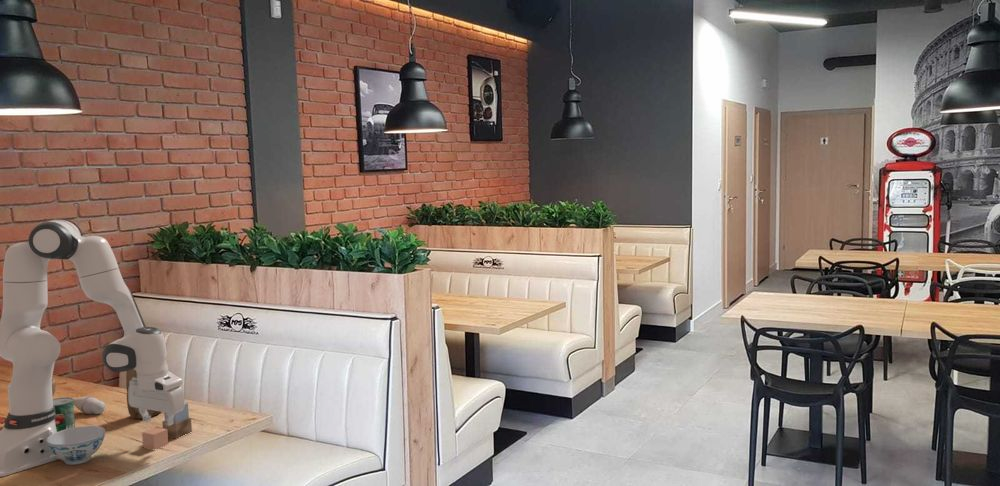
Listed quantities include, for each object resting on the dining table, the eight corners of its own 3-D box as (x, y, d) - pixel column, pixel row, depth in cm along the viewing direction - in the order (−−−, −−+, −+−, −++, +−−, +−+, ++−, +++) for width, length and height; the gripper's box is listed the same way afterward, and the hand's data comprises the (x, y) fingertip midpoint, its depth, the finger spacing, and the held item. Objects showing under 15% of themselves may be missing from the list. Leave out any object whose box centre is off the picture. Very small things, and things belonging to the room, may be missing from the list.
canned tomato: (43, 439, 234) (41, 406, 233) (51, 431, 242) (49, 398, 241) (71, 437, 236) (69, 403, 235) (78, 428, 244) (76, 396, 243)
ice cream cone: (67, 410, 262) (103, 420, 259) (57, 404, 257) (93, 414, 254) (76, 394, 265) (112, 403, 262) (67, 388, 260) (103, 397, 257)
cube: (154, 450, 225) (153, 434, 224) (143, 448, 227) (142, 432, 226) (168, 444, 229) (167, 429, 228) (156, 442, 231) (155, 427, 231)
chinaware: (116, 449, 225) (114, 425, 224) (90, 470, 210) (88, 443, 210) (66, 450, 225) (64, 426, 224) (37, 471, 210) (34, 445, 209)
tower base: (176, 439, 234) (175, 424, 233) (163, 436, 236) (162, 421, 236) (191, 432, 239) (191, 417, 239) (178, 430, 242) (177, 415, 241)
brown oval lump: (134, 421, 250) (130, 363, 248) (126, 416, 255) (122, 359, 253) (167, 413, 258) (163, 357, 255) (158, 408, 263) (155, 353, 261)
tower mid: (176, 423, 234) (175, 407, 233) (164, 421, 236) (163, 405, 235) (188, 418, 238) (187, 403, 238) (177, 416, 240) (176, 401, 240)
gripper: (120, 379, 227) (125, 422, 229) (169, 386, 219) (174, 431, 221) (137, 373, 233) (142, 415, 235) (186, 379, 225) (190, 423, 227)
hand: (158, 423), depth 228 cm, fingers open, 8 cm apart
